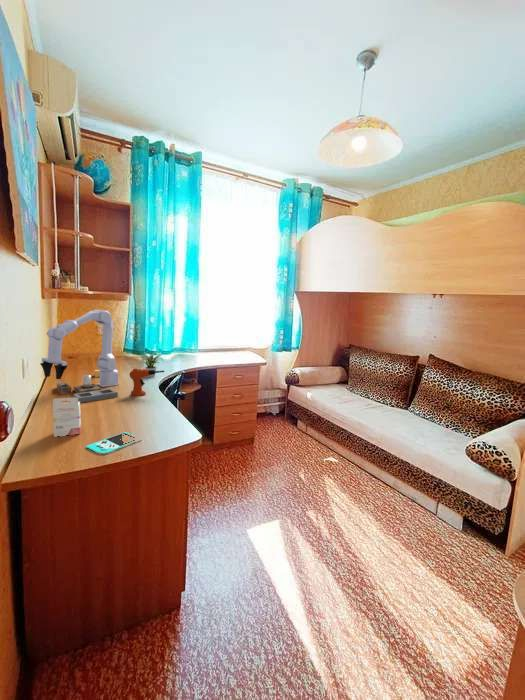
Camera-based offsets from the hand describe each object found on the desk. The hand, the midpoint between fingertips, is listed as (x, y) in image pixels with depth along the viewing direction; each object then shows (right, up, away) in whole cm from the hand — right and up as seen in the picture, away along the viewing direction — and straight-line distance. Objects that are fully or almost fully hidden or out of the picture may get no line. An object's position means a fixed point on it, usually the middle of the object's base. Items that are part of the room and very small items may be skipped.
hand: (52, 377), depth 160 cm
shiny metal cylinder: (+11, -9, +12) cm, 18 cm away
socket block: (+11, -9, +12) cm, 18 cm away
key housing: (0, -8, +10) cm, 13 cm away
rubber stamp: (+2, -3, +46) cm, 47 cm away
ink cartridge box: (+31, -18, -39) cm, 53 cm away
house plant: (+32, -4, +53) cm, 62 cm away
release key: (-4, -6, +13) cm, 15 cm away
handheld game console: (+52, -21, -44) cm, 71 cm away
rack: (+20, -11, +4) cm, 23 cm away
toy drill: (+42, -11, +14) cm, 46 cm away
